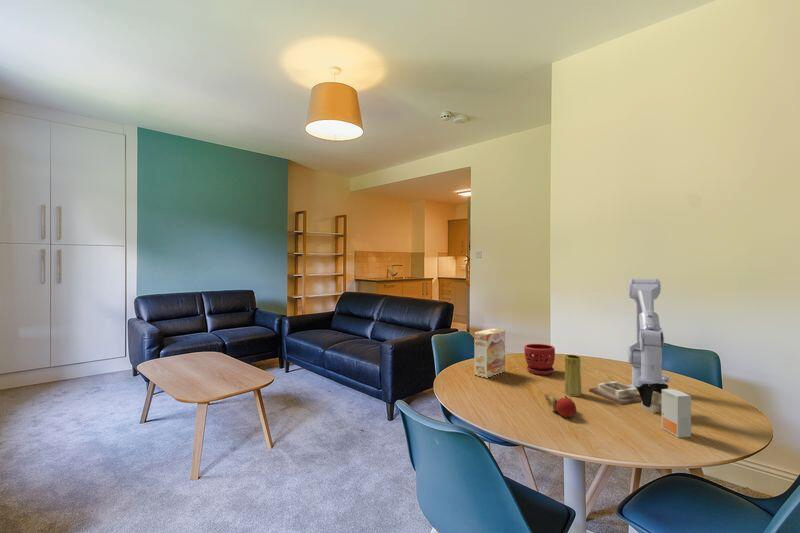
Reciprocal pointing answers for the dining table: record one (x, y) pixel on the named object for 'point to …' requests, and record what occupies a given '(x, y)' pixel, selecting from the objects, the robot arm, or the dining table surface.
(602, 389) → the socket board
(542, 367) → the plant pot
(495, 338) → the coffeecake box
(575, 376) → the vase
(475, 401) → the dining table surface
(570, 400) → the kendama
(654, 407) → the birch peg
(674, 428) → the skincare box
